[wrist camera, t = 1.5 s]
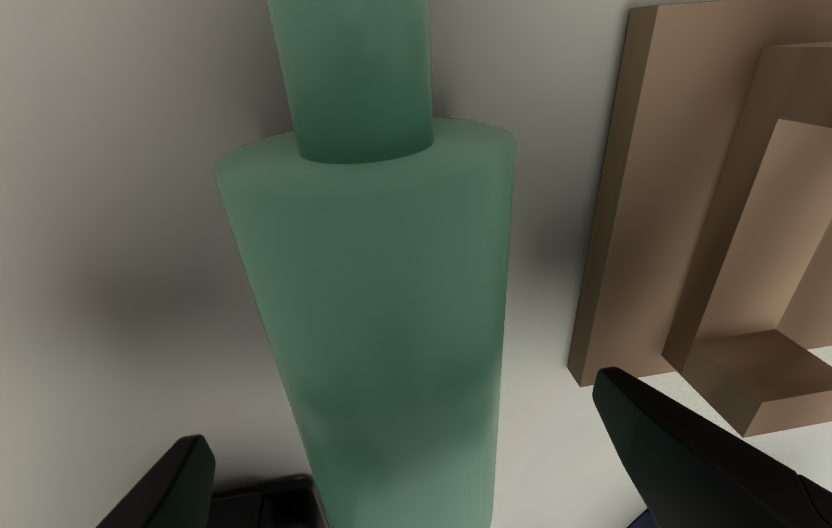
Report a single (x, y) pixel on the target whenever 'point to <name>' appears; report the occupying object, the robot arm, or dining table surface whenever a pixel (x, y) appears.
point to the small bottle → (379, 266)
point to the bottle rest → (718, 211)
